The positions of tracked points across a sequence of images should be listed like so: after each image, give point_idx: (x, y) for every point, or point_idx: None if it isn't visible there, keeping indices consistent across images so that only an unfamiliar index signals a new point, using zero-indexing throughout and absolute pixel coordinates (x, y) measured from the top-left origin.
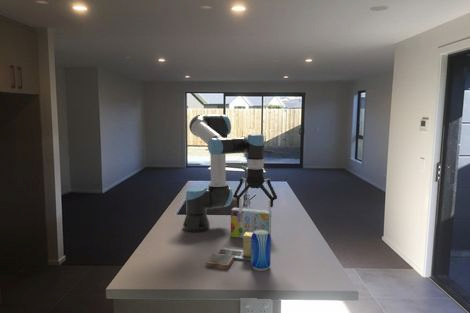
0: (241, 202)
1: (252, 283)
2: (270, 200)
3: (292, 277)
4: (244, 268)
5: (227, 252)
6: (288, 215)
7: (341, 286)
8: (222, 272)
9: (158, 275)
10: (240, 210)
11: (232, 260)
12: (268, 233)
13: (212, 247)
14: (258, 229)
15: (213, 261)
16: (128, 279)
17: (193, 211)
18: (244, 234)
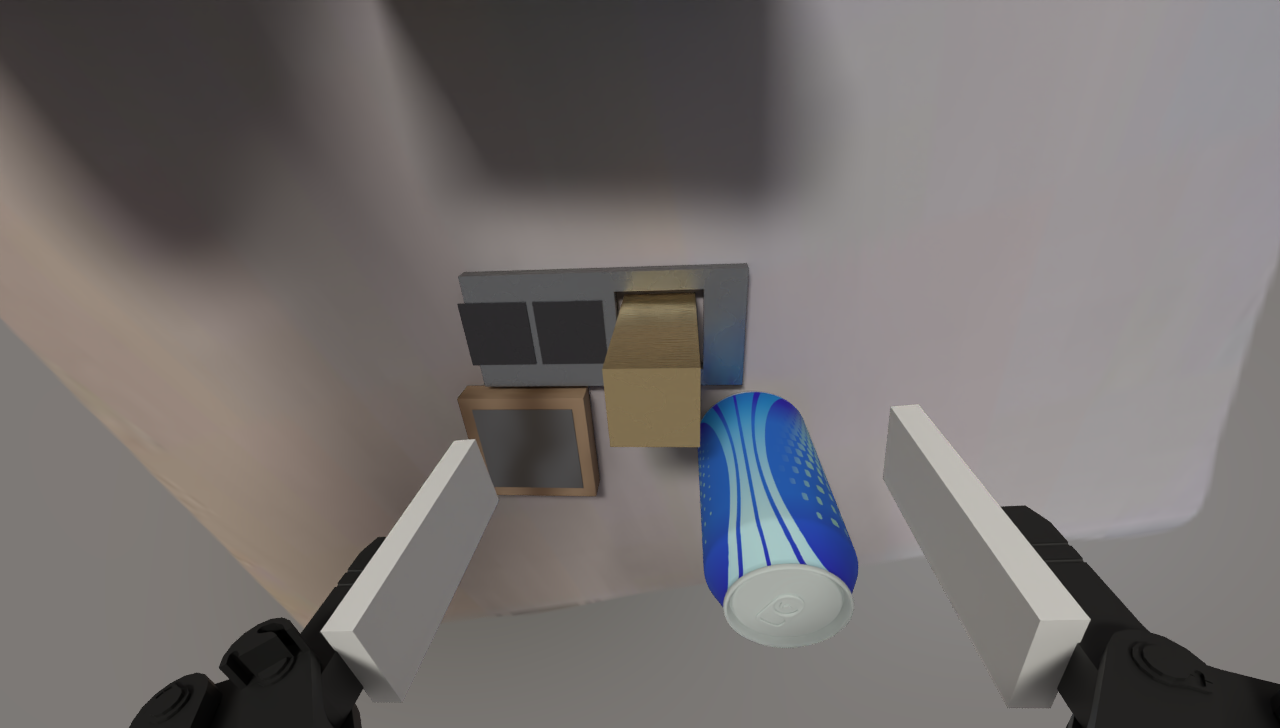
0: (409, 567)
1: None
2: (1060, 690)
3: None
4: (670, 453)
5: (518, 338)
6: None
7: (1152, 503)
8: (586, 504)
9: None
10: (480, 528)
11: (589, 423)
12: (849, 614)
13: (377, 252)
14: (757, 575)
15: (513, 482)
16: (310, 601)
17: None
18: (611, 425)
